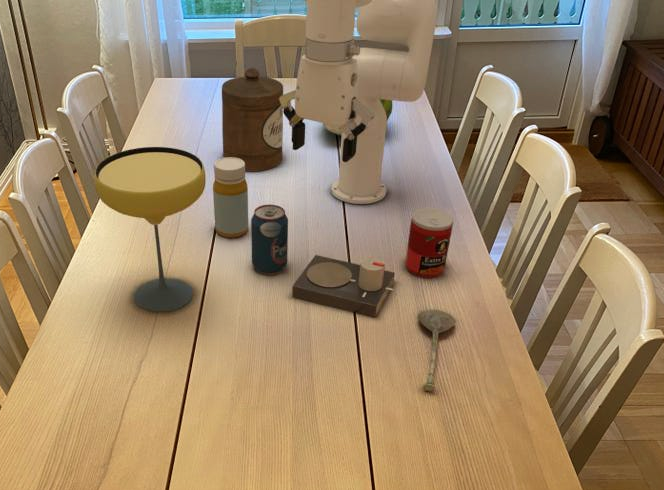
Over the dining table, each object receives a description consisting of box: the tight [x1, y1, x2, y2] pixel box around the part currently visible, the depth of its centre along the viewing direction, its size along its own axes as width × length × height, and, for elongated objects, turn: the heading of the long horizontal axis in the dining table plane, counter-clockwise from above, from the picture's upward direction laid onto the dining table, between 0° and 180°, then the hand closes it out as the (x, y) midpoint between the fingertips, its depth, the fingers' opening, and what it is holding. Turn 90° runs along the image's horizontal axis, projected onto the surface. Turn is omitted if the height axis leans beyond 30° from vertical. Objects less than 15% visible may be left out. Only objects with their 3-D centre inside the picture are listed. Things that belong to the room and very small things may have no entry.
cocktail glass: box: [93, 146, 207, 313], centre depth 125 cm, size 18×18×25 cm
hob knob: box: [358, 256, 386, 291], centre depth 130 cm, size 4×4×5 cm
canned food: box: [405, 207, 454, 278], centre depth 137 cm, size 8×8×11 cm
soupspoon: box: [417, 309, 457, 392], centre depth 120 cm, size 22×3×7 cm
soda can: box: [250, 204, 289, 275], centre depth 137 cm, size 7×7×12 cm
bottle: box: [212, 157, 249, 239], centre depth 147 cm, size 7×7×15 cm
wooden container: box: [221, 67, 284, 172], centre depth 173 cm, size 15×15×22 cm
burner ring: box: [307, 262, 352, 288], centre depth 134 cm, size 8×8×1 cm
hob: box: [291, 254, 396, 318], centre depth 133 cm, size 17×12×3 cm
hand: (322, 153), depth 124 cm, fingers open, 9 cm apart
